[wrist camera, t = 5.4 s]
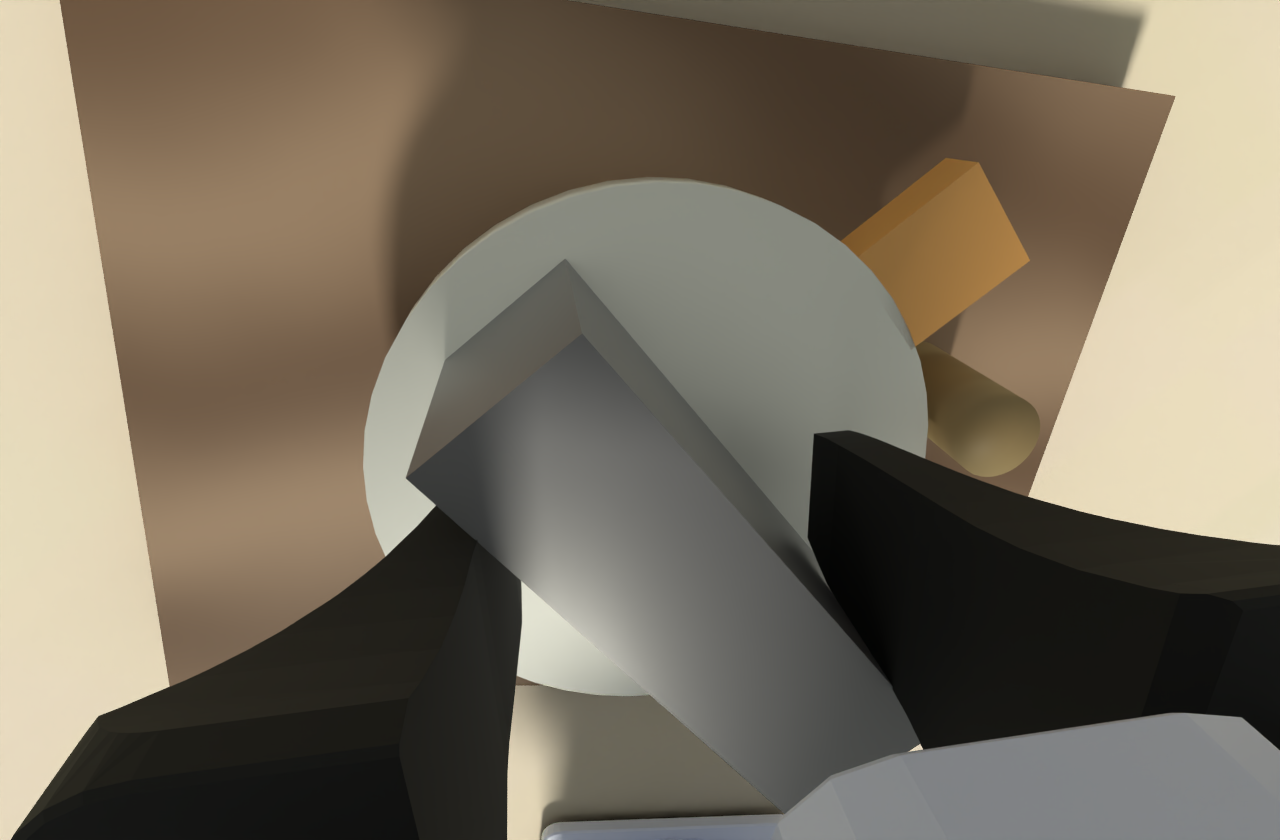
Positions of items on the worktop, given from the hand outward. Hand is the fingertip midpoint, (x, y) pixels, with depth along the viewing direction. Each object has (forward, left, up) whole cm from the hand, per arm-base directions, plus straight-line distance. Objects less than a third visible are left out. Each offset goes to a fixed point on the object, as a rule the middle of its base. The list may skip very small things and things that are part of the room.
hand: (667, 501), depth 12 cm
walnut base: (0, 0, -6) cm, 6 cm away
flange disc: (+1, -1, -2) cm, 2 cm away
